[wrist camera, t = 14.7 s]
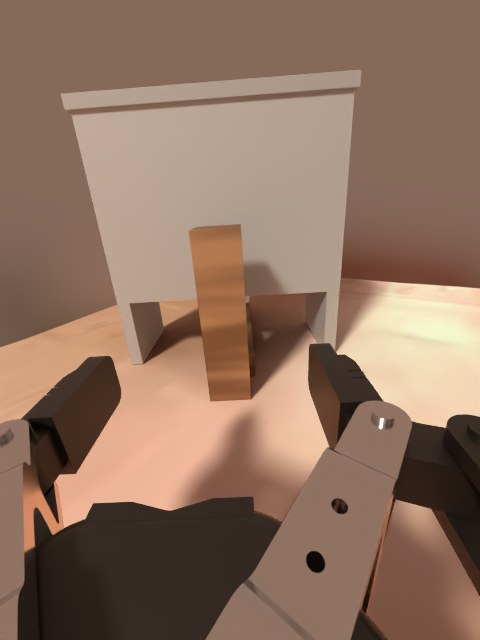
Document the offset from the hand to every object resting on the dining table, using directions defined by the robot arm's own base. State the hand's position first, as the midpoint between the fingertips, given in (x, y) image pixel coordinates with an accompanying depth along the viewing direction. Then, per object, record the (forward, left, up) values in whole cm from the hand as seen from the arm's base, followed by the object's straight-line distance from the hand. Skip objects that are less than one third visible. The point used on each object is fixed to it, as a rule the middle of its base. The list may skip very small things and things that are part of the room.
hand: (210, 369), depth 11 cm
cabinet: (-13, -16, -9) cm, 23 cm away
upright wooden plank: (-12, -15, -9) cm, 21 cm away
